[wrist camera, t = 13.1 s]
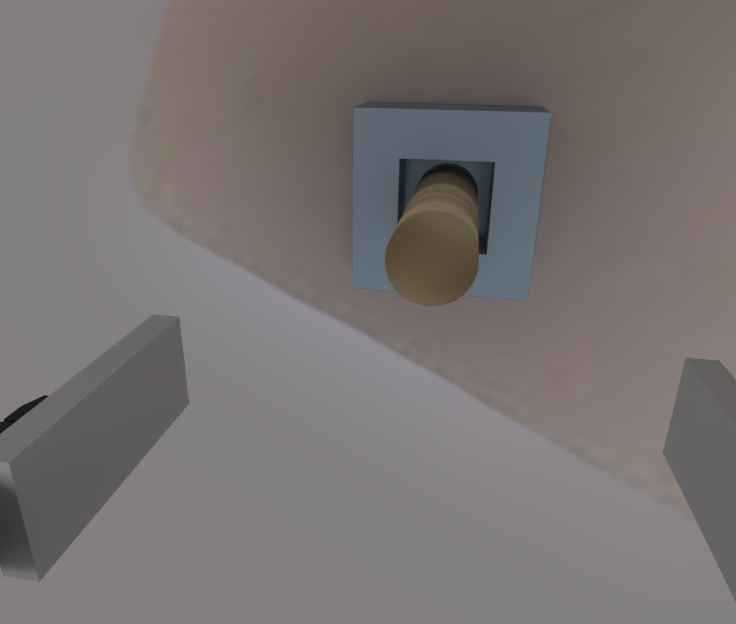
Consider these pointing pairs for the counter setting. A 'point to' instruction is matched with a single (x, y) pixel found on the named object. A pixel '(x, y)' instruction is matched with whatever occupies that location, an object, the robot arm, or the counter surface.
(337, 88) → the counter surface
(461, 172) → the dowel
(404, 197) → the socket block
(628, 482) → the counter surface
